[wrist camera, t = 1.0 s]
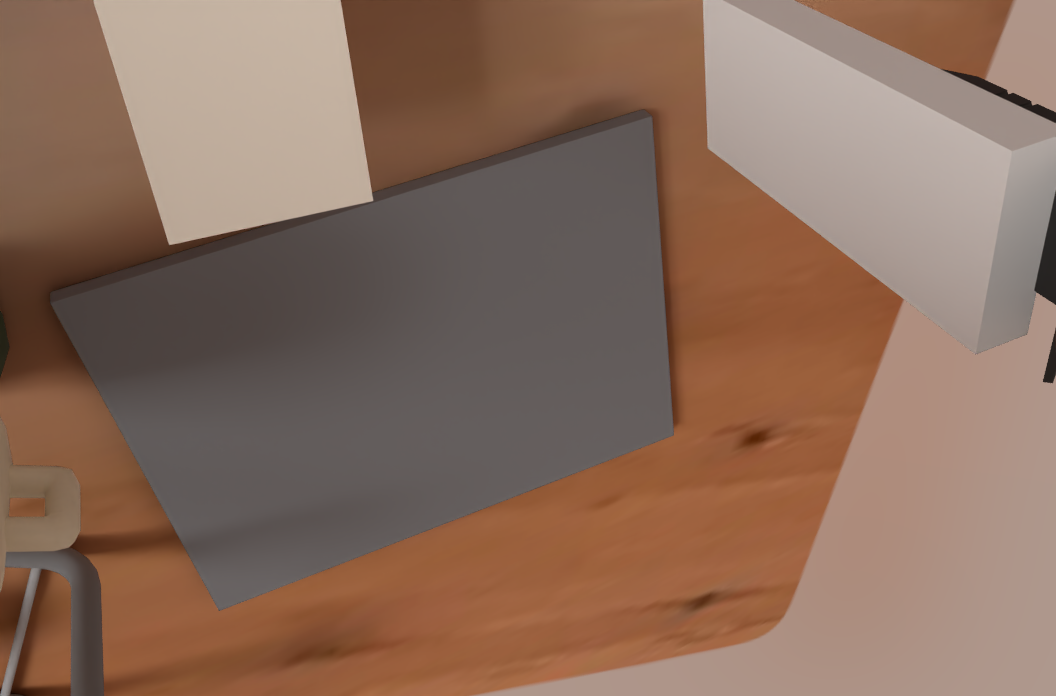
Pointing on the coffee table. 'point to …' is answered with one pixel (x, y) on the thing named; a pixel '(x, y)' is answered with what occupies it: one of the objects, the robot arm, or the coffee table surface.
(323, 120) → the cream block
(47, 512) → the character mug
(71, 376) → the coffee table surface
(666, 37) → the coffee table surface
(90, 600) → the newton's cradle
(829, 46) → the robot arm
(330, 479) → the rubber mat
